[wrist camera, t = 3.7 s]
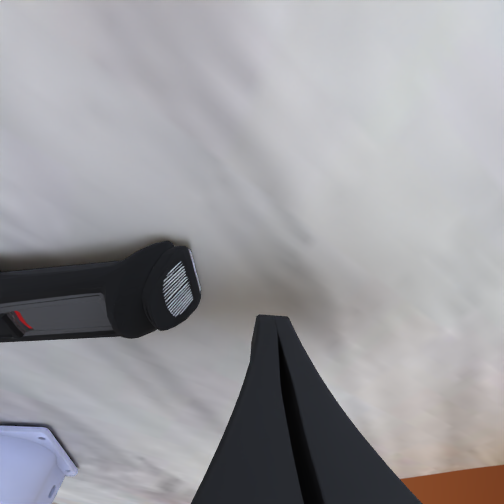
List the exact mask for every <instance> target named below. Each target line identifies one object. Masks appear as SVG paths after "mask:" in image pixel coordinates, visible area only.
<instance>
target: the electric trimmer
mask: <svg viewBox="0 0 504 504" xmlns="http://www.w3.org/2000/svg"><path fill="white" fill-rule="evenodd" d="M190 252H191V249H190V250H189V249H188V248H187V247H186V246H176V247H174V245H173V243H172V242H170V241H164V242H159V243H155V244H152V245H150V246H147V247H145V248H143V249H141V250H139V251H137V252H135V253H134V254H132V255H131V256H129V257H128V258H126V259H124V260H122V261H112V262H102V263H91V264H81V265H71V266H61V267H50V268H40V269H30V270H20V271H10V272H0V342H18V341H38V340H58V339H78V338H97V337H117V336H121V337H124V338H131V339H132V338H139V337H141V336H144V335H146V334H149V333H151V332H153V331H155V330H157V329H158V330H160V331H163V330H168V329H170V328H173V327H175V326H177V325H178V324H180V323H181V322H183V321H184V320H186V319H187V318H188V317H189V316H190V315H191V314H192V313H193V312H194V311H195V309H196V308H197V306H198V305H199V302H200V299H201V294H200V292H201V291H200V289H201V287H200V285H199V284H200V283H198V282H199V280H198V277H197V276H198V274H197V272H196V271H195V267H196V266H195V264H194V261H193V258H192V256H193V255H192V254H191V253H192V252H191V253H190ZM191 255H192V256H191ZM192 261H193V262H192ZM194 266H195V267H194ZM196 274H197V275H196ZM199 287H200V288H199Z"/></svg>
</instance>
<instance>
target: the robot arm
mask: <svg viewBox="0 0 504 504" xmlns="http://www.w3.org/2000/svg"><path fill="white" fill-rule="evenodd" d="M77 472H78V469H77V467H76V466H75V465H74V463H73V462H72V461H71V459H70V458H69V456H68V455H67V454H66V452H65V451H64V450H63V448H62V447H61V445H60V444H59V443H58V441H57V440H56V439H55V437H54V436H53V434H52V433H51V432H50V430H49V429H47V428H44V427H27V426H1V425H0V504H52V502H53V500H54V498H55V496H56V494H57V492H58V490H59V488H60V486H61V484H62V482H63V480H64V477H65V476H75V475H76V474H77ZM191 504H422V503H421V502H420V501H419V500H418V499H417V498H416V496H415V495H414V494H412V492H411V491H410V490H409V489H408V488H407V487H406V486H405V485H404V483H403V482H402V481H401V480H400V479H399V478H398V477H397V476H396V474H395V473H394V472H393V471H392V470H391V469H390V468H389V467H388V466H387V464H386V463H385V462H384V461H383V460H382V458H381V457H380V456H379V455H378V454H377V452H376V451H375V450H374V449H373V448H372V446H371V445H370V444H369V443H368V442H367V440H366V439H365V438H364V437H363V436H362V434H361V433H360V432H359V431H358V429H357V428H356V427H355V425H354V424H353V423H352V421H351V420H350V419H349V417H348V416H347V415H346V413H345V412H344V411H343V409H342V408H341V407H340V405H339V404H338V402H337V401H336V399H335V398H334V397H333V395H332V394H331V392H330V391H329V389H328V388H327V386H326V384H325V383H324V381H323V380H322V378H321V377H320V375H319V373H318V372H317V370H316V369H315V367H314V365H313V363H312V362H311V360H310V358H309V356H308V355H307V353H306V351H305V349H304V347H303V346H302V344H301V342H300V340H299V338H298V336H297V334H296V332H295V330H294V328H293V326H292V324H291V321H290V319H289V318H288V317H286V316H273V315H260V314H259V315H258V316H256V322H255V327H254V332H253V337H252V342H251V356H250V363H249V366H248V370H247V373H246V376H245V379H244V382H243V385H242V388H241V391H240V394H239V397H238V399H237V402H236V405H235V407H234V410H233V412H232V415H231V417H230V420H229V422H228V425H227V427H226V430H225V432H224V434H223V437H222V439H221V441H220V443H219V446H218V448H217V450H216V452H215V454H214V457H213V459H212V461H211V463H210V465H209V467H208V470H207V472H206V474H205V476H204V478H203V480H202V482H201V484H200V486H199V488H198V490H197V492H196V494H195V496H194V498H193V500H192V502H191Z"/></svg>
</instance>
